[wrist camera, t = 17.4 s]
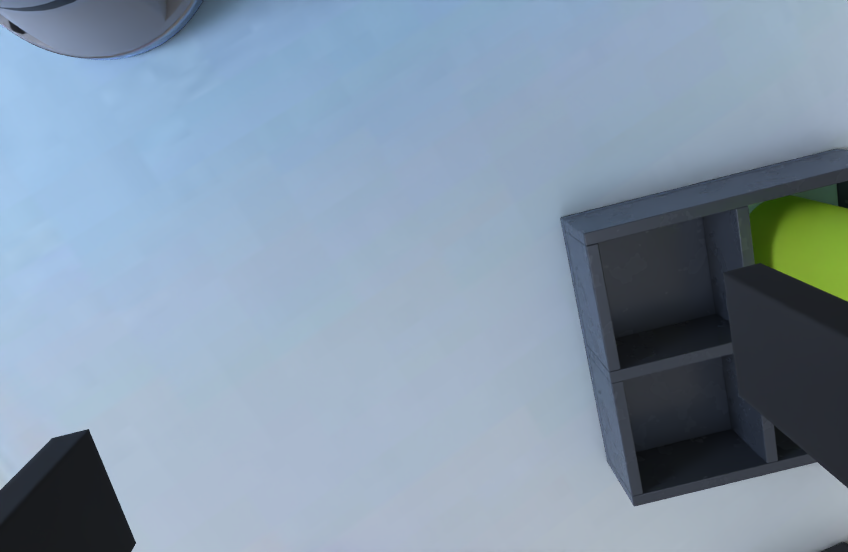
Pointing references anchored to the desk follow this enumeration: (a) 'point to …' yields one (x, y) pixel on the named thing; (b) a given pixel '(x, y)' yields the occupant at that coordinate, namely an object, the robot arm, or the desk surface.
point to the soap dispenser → (803, 241)
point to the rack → (681, 327)
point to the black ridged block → (838, 548)
